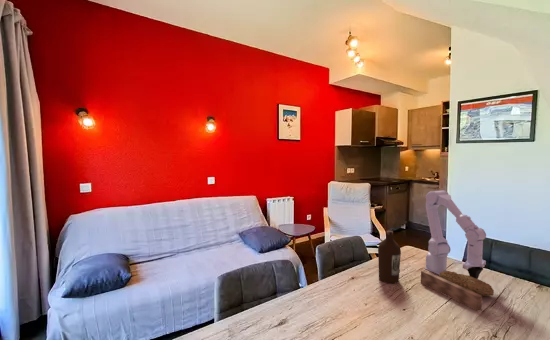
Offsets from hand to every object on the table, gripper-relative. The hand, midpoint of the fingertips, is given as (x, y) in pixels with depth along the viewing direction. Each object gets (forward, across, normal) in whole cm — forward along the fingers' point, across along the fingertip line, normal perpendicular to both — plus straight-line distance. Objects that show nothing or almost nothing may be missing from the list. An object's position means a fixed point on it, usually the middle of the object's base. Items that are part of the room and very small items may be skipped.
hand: (473, 281), depth 128 cm
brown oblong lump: (+3, -6, 0) cm, 7 cm away
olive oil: (+3, -31, +22) cm, 38 cm away
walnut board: (+3, -18, 0) cm, 19 cm away
